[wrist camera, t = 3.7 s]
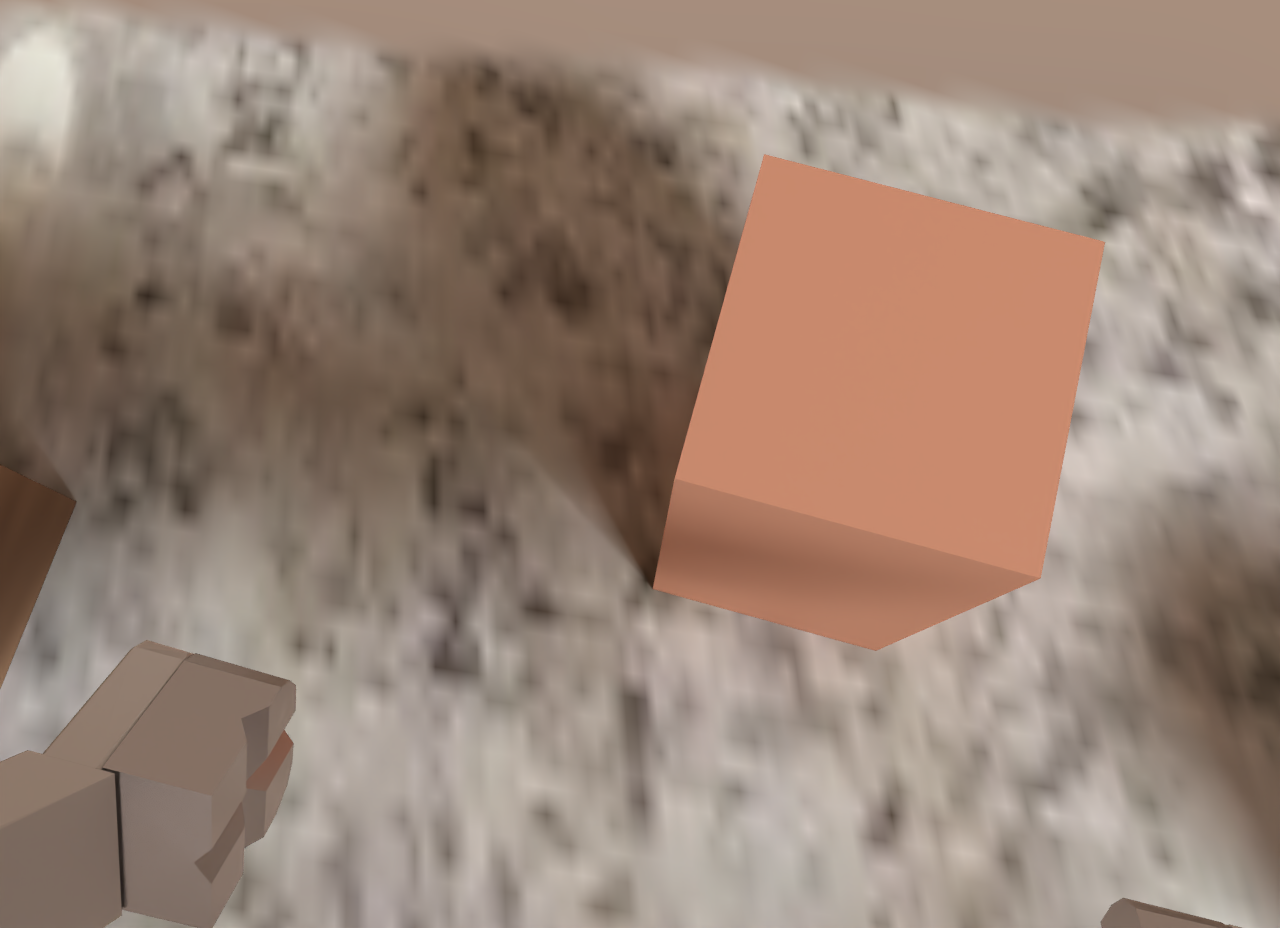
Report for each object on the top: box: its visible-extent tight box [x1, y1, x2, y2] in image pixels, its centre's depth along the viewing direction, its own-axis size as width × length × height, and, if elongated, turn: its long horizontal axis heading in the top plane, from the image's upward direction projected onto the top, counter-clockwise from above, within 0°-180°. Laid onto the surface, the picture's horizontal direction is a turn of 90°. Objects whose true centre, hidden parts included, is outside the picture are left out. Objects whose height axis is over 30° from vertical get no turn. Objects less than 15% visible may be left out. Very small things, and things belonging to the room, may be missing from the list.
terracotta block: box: [653, 154, 1105, 651], centre depth 19 cm, size 4×4×9 cm
